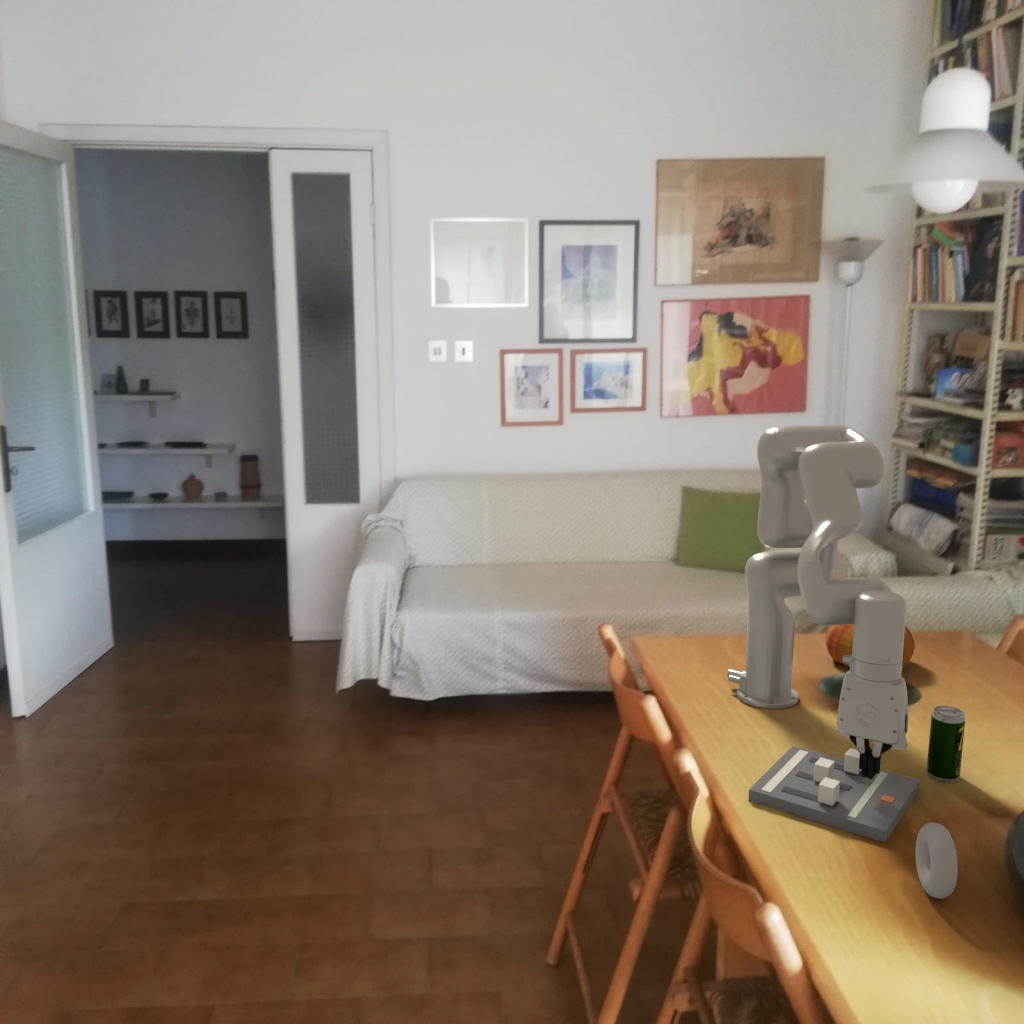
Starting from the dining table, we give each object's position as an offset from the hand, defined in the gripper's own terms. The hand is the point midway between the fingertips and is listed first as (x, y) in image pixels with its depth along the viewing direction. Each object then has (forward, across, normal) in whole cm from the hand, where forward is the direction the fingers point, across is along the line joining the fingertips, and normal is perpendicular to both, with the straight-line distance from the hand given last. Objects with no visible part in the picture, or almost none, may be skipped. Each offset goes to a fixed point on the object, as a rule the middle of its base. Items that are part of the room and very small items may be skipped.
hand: (869, 774), depth 154 cm
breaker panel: (+6, -6, 0) cm, 8 cm away
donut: (+6, +14, -19) cm, 24 cm away
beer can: (+6, +8, +18) cm, 21 cm away
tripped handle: (+3, -7, 0) cm, 8 cm away
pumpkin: (+5, -19, +66) cm, 69 cm away
